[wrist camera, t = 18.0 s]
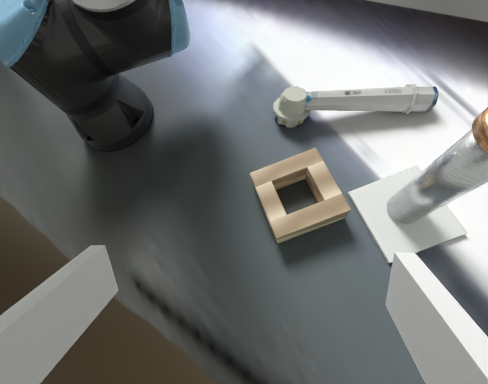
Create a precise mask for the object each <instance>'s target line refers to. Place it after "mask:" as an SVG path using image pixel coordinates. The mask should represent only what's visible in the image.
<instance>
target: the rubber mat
mask: <svg viewBox="0 0 488 384" xmlns="http://www.w3.org/2000/svg"><path fill="white" fill-rule="evenodd" d="M420 172H421V171H420V169H419V168H418V167H417V166H415V167H412V168H410V169H407V170H404V171H402V172H399V173H397V174H394V175H391V176H389V177H386V178H384V179H381V180H378V181H376V182H373V183H371V184H368V185H366V186H363V187H360V188H358V189H355V190H353V191H350V192H348V193H347V194H348V196H349V197H350V199H351V201H352V202H353V204H354V206H355V208H356V209H357V211H358V213H359V214H360V216H361V218H362V220H363V221H364V223H365V225H366V226H367V228H368V230H369V232H370V233H371V235H372V237H373V238H374V240H375V242H376V244H377V245H378V247H379V249H380V250H381V252H382V254H383V256H384V257H385V259H386V261H387V263H391V262H393V257H394V252H401V253H417V252H419V251H422V250H425V249H427V248H430V247H432V246H435V245H438V244H440V243H443V242H445V241H448V240H451V239H453V238H456V237H458V236H461V235H464V234H466V233H467V231H466V230H465V229H464V227H463V226H462V225H461V223H460V222H459V221H458V219H457V218H456V217H455V216H454V214H453V213H452V212H451V210H450V209H449V208H448V206H447V205H445V206H443V207H441V208H439V209H437V210H436V211H434V212H432V213H430V214H428V215H426V216H425V217H423V218H421V219H419V220H417V221H416V222H414V223H410V224H404V223H400V222H398V221H396V220H395V219H393V218H392V217H391V215H390V214H389V212H388V210H387V202H388V200H389V199H390V198H391V197H392V196H393V195H394V194H396V193H397V192H398V191H399V190H400V189H401V188H403V187H404V186H405V185H406V184H407V183H409V182H410V181H411V180H412V179H413V178H415V177H416V176H417V175H418V174H419V173H420Z"/></svg>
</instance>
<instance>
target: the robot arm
mask: <svg viewBox="0 0 488 384" xmlns="http://www.w3.org/2000/svg"><path fill="white" fill-rule="evenodd" d="M189 43H190V30H189V25H188V21H187V16H186V12H185V8H184V4H183V2H182V0H0V60H1V61H2V62H3V64H4V65H5V66H7V67H10V68H11V69H12V70H13V71H14V72H16V73H17V74H18V75H19V76H21V77H22V78H23V79H24V80H25V81H27V82H28V83H29V84H30V85H32V86H33V87H34V88H35V89H36V90H38V91H39V92H40V93H41V94H43V95H44V96H45V97H46V98H48V99H49V100H50V101H51V102H52V103H54V104H55V105H56V106H57V107H59V108H60V109H61V110H62V111H63V112H65V113H66V115H67V116H68V118H69V120H70V121H71V123H72V124H73V126H74V128H75V129H76V131H77V132H78V134H79V135H80V137H81V138H82V139H83V140H84V141H85V142H87V143H88V144H89V145H91V146H92V147H93V148H95V149H98V150H101V151H114V150H118V149H121V148H124V147H126V146H128V145H130V144H132V143H133V142H135V141H136V140H137V139H138V138H140V137H141V136H142V135H143V133H144V132H145V131H146V130H147V128H148V126H149V124H150V122H151V120H152V116H153V107H152V104H151V102H150V100H149V98H148V97H147V96H146V94H145V93H144V92H143V91H142V90H141V89H140V88H139V87H138V86H136V85H135V84H133V83H132V82H131V81H129V80H128V79H126V78H125V77H124V76H122V75H121V74H120V73H121V72H124V71H127V70H130V69H133V68H136V67H139V66H142V65H145V64H148V63H151V62H154V61H157V60H160V59H163V58H166V57H171V56H172V55H173V54H175V53H177V52H179V51H181V50H184V49H185V48H187V47H188V45H189ZM118 291H119V290H118V287H117V284H116V280H115V277H114V273H113V270H112V267H111V263H110V260H109V257H108V253H107V250H106V246H105V245H91V246H89V247H88V248H87V249H86V250H84V251H83V252H82V253H80V254H79V255H78V256H77V257H75V258H74V259H73V260H71V261H70V262H69V263H68V264H66V265H65V266H64V267H62V268H61V269H60V270H59V271H57V272H56V273H55V274H53V275H52V276H51V277H49V278H48V279H47V280H46V281H45V282H43V283H42V284H40V285H39V286H38V287H37V288H35V289H34V290H33V291H31V292H30V293H29V294H28V295H26V296H25V297H24V298H22V299H21V300H20V301H19V302H17V303H16V304H15V305H13V306H12V307H11V308H9V309H8V310H7V311H6V312H4V313H2V314H1V315H0V384H40V383H41V382H42V381H43V379H44V378H45V377H46V376H47V375H48V373H49V372H50V371H51V370H52V369H53V367H54V366H55V365H56V364H57V363H58V362H59V360H60V359H61V358H62V357H63V356H64V355H65V353H66V352H67V351H68V350H69V349H70V347H71V346H72V345H73V344H74V343H75V341H76V340H77V339H78V338H79V337H80V335H81V334H82V333H83V332H84V331H85V330H86V328H87V327H88V326H89V325H90V324H91V322H92V321H93V320H94V319H95V318H96V317H97V315H98V314H99V313H100V312H101V311H102V309H103V308H104V307H105V306H106V304H108V302H109V301H110V300H111V299H112V298H113V296H114V295H115V294H116V293H117V292H118ZM385 305H386V307H387V309H388V311H389V313H390V315H391V317H392V319H393V321H394V323H395V325H396V327H397V329H398V331H399V333H400V335H401V337H402V339H403V340H404V342H405V344H406V346H407V348H408V350H409V352H410V354H411V356H412V358H413V360H414V362H415V364H416V366H417V368H418V370H419V372H420V374H421V376H422V378H423V380H424V382H425V384H488V337H487V336H486V334H485V333H484V332H483V331H482V330H481V329H480V328H479V326H478V325H477V324H476V323H475V322H474V321H473V319H472V318H471V317H470V316H469V315H468V314H467V313H466V311H465V310H464V309H463V308H462V307H461V306H460V304H459V303H458V302H457V301H456V300H455V299H454V298H453V296H452V295H451V294H450V293H449V292H448V291H447V289H446V288H445V287H444V286H443V285H442V284H441V283H440V281H439V280H438V279H437V278H436V277H435V276H434V274H433V273H432V272H431V271H430V270H429V269H428V268H427V266H426V265H425V264H424V263H423V262H422V261H421V259H420V258H419V257H418V256H417V255H416V254H415V253H401V252H394V257H393V263H392V269H391V275H390V281H389V287H388V292H387V298H386V304H385Z"/></svg>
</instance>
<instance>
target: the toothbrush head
mask: <svg viewBox="0 0 488 384" xmlns="http://www.w3.org/2000/svg"><path fill="white" fill-rule="evenodd" d="M438 95H439V94H438V91H437V88H436V87H416V85H406V86H405V87H395V88H375V89H356V90H336V91H317V92H306V91H305V90H304V89H303V88H300V87H289V88H287V89H286V90H285V91H284V92H283V93H282V94H281V97H280V98H278V99H277V100H276V101H275V102H274V104H273V113H274V114H275V121H276V122H277V123H278V124H282V125H285V126H286V127H295V126H297V125H299V124H302V123H303V121H304V120H305V119H306V117H307V116H308V115H309V113H310V111H311V110H338V111H400V113H405V114H408V113H409V112H410V111H417V112H429V111H430V110H431V109H432V108H433V107H434V106H435V105H436V102H437V99H438Z"/></svg>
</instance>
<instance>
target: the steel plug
mask: <svg viewBox="0 0 488 384" xmlns="http://www.w3.org/2000/svg"><path fill="white" fill-rule="evenodd" d="M487 182H488V108H486V109H485V110H484V111H483V112H482V113H481V114H480V115H478V116H477V117H476V118H475V120H474V121H473V124H472V130H470V131H469V132H468V133H467V134H466V135H465V136H463V137H462V138H461V139H460V140H459V141H457V142H456V143H455V144H454V145H453V146H451V147H450V148H449V149H448V150H447V151H445V152H444V153H443V154H442V155H441V156H440V157H438V158H437V159H436V160H435V161H434V162H432V163H431V164H430V165H429V166H428V167H426V168H425V169H424V170H423V171H422V172H420V173H419V174H418V175H417V176H416V177H415V178H413V179H412V180H411V181H410V182H409V183H407V184H406V185H405V186H404V187H403V188H401V189H400V190H399V191H398V192H397V193H396V194H394V195H393V196H392V197H391V198H390V199H389V200H388V202H387V210H388V212H389V214H390V215H391V217H392V218H393V219H395V220H396V221H398V222H400V223H404V224H410V223H414V222H416V221H417V220H419V219H421V218H423V217H425V216H426V215H428V214H430V213H432V212H434V211H436V210H437V209H439V208H441V207H443V206H445V205H446V204H448V203H450V202H452V201H454V200H456V199H457V198H459V197H461V196H463V195H465V194H466V193H468V192H470V191H472V190H474V189H476V188H477V187H479V186H481V185H483V184H485V183H487Z"/></svg>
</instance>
